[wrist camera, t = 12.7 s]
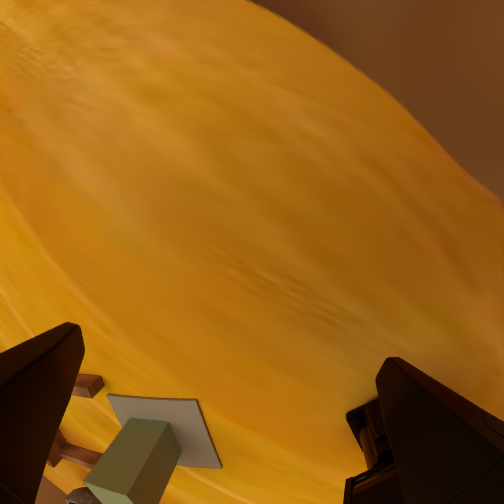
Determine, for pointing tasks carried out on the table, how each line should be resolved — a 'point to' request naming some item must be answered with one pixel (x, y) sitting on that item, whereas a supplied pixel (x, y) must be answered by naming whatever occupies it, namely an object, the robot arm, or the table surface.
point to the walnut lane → (60, 448)
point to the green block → (136, 464)
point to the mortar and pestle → (82, 497)
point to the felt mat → (173, 425)
